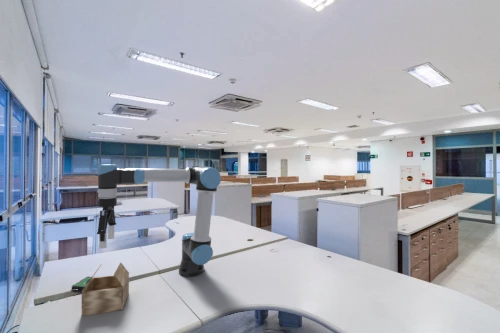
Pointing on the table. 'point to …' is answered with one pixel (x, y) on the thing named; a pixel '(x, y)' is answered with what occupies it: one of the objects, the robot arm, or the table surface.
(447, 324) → the table surface
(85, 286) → the far side flap
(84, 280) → the disk drive
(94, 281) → the carton
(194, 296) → the table surface
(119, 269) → the flap
